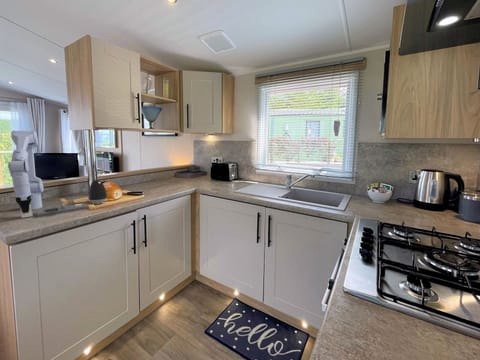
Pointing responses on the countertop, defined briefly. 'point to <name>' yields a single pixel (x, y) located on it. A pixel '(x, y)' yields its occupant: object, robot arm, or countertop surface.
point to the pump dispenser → (97, 192)
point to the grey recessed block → (61, 209)
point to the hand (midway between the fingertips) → (25, 211)
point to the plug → (26, 213)
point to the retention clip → (63, 201)
